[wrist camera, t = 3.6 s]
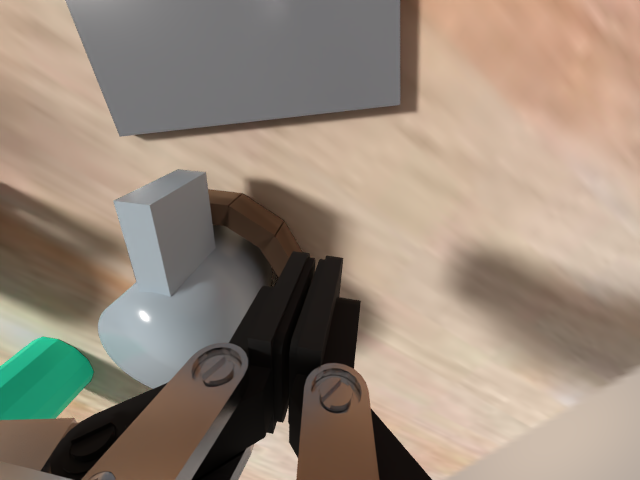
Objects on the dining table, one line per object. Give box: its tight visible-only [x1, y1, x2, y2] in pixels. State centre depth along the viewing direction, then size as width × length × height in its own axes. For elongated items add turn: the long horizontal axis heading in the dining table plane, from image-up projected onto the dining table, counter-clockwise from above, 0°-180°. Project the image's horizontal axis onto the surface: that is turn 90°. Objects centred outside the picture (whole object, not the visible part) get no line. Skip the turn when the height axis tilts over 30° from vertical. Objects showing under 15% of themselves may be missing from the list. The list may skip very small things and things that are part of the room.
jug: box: [98, 169, 272, 389], centre depth 16 cm, size 10×6×7 cm, turn 177°
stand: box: [128, 190, 302, 282], centre depth 19 cm, size 10×10×2 cm
